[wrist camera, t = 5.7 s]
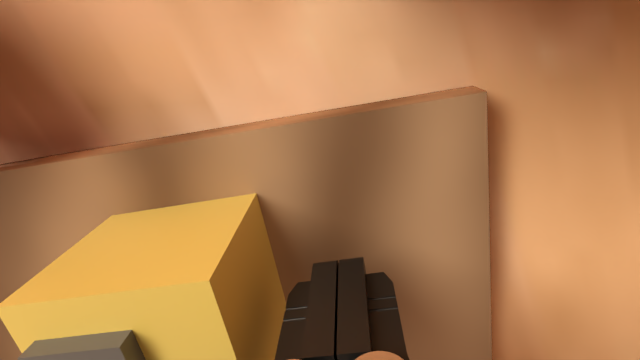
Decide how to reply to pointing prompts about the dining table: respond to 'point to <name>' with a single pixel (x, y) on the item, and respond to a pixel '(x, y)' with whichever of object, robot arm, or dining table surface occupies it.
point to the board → (299, 203)
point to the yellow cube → (157, 289)
